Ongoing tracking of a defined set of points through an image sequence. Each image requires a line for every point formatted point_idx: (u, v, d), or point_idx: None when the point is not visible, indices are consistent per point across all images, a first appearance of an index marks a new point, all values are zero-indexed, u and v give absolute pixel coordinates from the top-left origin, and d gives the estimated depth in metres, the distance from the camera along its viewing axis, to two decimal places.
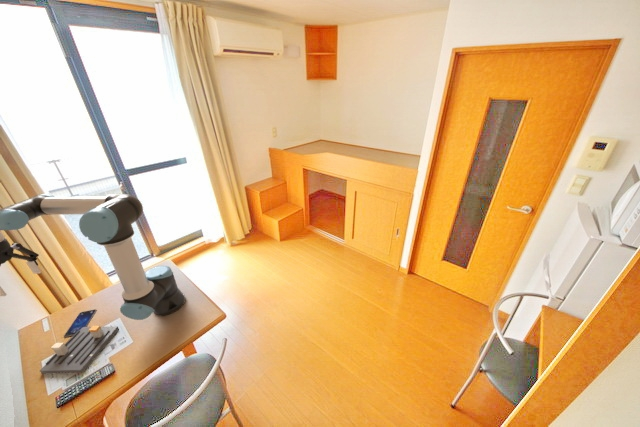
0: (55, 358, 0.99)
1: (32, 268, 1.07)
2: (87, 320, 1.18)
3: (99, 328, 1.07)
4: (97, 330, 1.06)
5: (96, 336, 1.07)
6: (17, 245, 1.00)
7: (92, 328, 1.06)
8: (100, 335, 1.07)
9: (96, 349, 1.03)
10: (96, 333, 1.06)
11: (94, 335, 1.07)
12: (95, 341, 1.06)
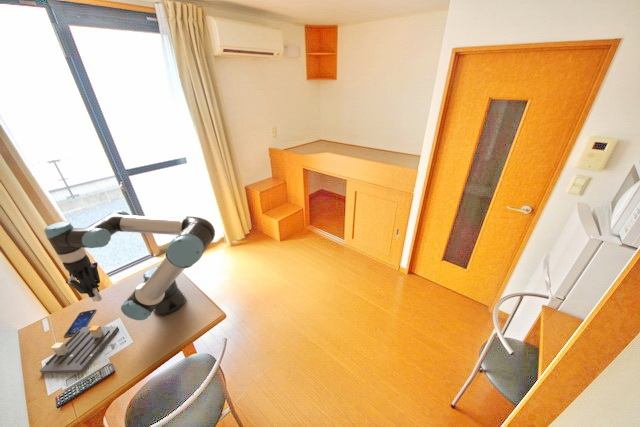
0: (55, 358, 0.99)
1: None
2: (87, 320, 1.18)
3: (99, 328, 1.07)
4: (97, 330, 1.06)
5: (96, 336, 1.07)
6: (94, 263, 1.05)
7: (92, 328, 1.06)
8: (100, 335, 1.07)
9: (96, 349, 1.03)
10: (96, 333, 1.06)
11: (94, 335, 1.07)
12: (95, 341, 1.06)
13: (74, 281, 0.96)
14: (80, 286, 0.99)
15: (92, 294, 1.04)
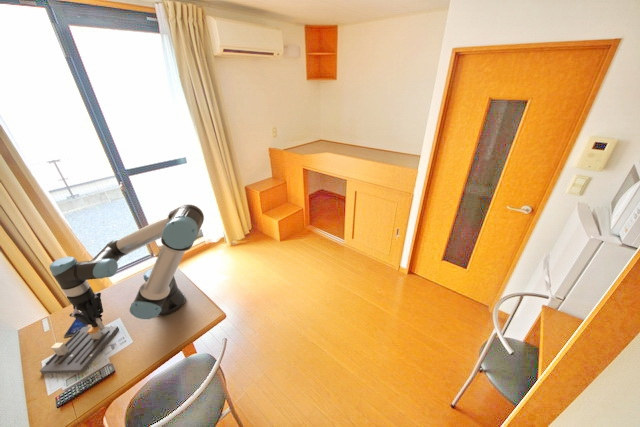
0: (55, 358, 0.99)
1: None
2: None
3: (98, 329, 1.06)
4: (96, 331, 1.05)
5: (95, 337, 1.06)
6: (98, 294, 1.07)
7: (91, 329, 1.05)
8: (99, 336, 1.07)
9: (96, 349, 1.03)
10: (95, 334, 1.05)
11: (93, 336, 1.06)
12: (95, 341, 1.06)
13: (78, 314, 0.98)
14: (83, 318, 1.00)
15: (95, 324, 1.06)
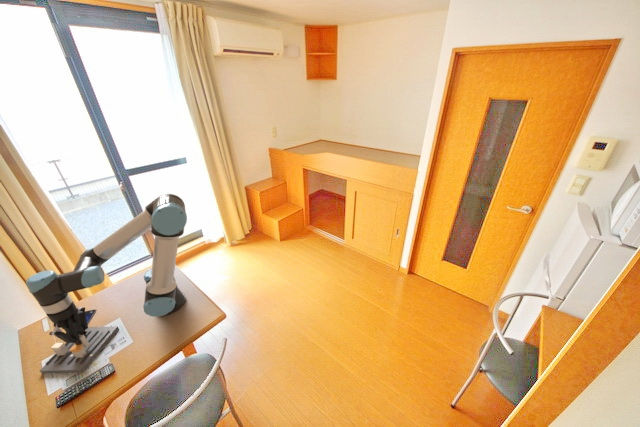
0: (55, 358, 0.99)
1: None
2: (87, 320, 1.18)
3: (81, 347, 0.99)
4: (79, 350, 0.98)
5: (78, 356, 0.99)
6: (82, 309, 0.99)
7: (74, 347, 0.97)
8: (83, 355, 0.99)
9: (96, 349, 1.03)
10: (78, 353, 0.98)
11: (76, 355, 0.98)
12: (95, 341, 1.06)
13: (59, 332, 0.90)
14: (65, 336, 0.93)
15: (79, 342, 0.99)
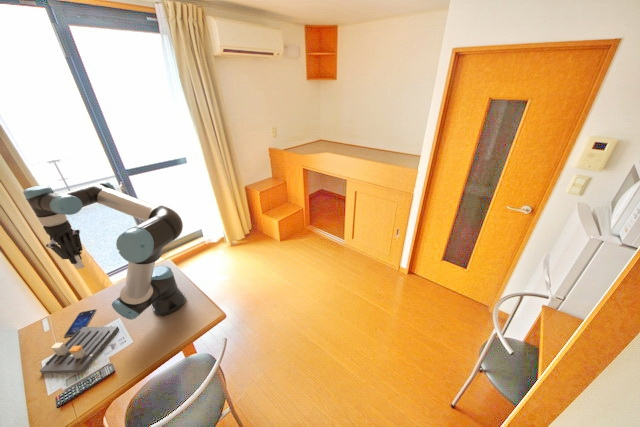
0: (55, 358, 0.99)
1: None
2: (87, 320, 1.18)
3: (81, 348, 0.98)
4: (78, 350, 0.97)
5: (77, 357, 0.98)
6: (76, 231, 1.07)
7: (73, 348, 0.97)
8: (82, 356, 0.99)
9: (96, 349, 1.03)
10: (77, 354, 0.98)
11: (75, 356, 0.98)
12: (95, 341, 1.06)
13: (55, 245, 0.97)
14: (61, 251, 1.00)
15: (74, 261, 1.06)
